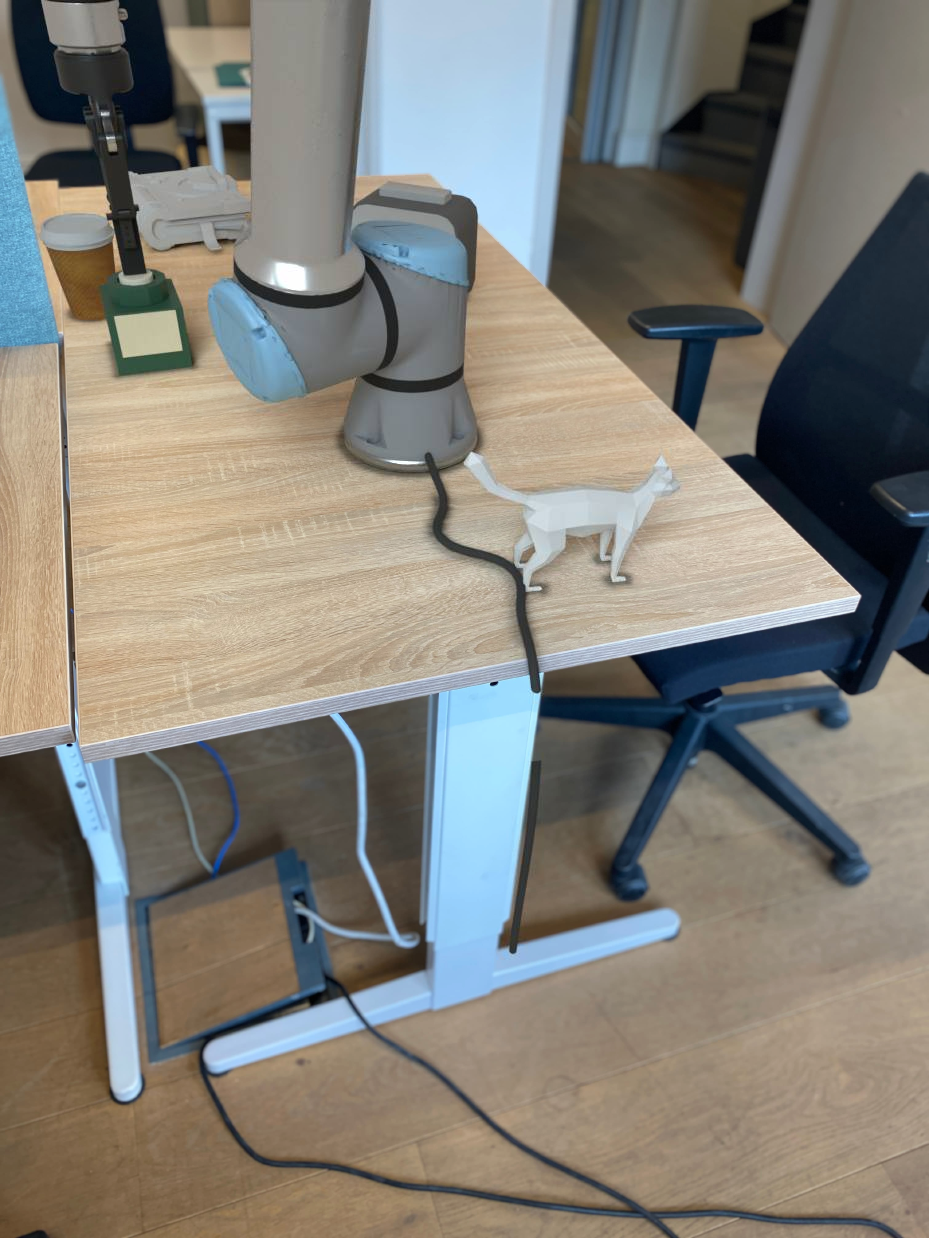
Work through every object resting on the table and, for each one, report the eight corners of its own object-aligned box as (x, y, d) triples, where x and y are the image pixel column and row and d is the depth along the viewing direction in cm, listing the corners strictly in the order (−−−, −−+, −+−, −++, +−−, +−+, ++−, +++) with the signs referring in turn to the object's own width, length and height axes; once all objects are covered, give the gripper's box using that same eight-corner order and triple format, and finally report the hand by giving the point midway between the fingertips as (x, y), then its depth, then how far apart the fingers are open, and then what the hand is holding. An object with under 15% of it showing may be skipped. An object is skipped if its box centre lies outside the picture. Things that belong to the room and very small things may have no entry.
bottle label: (182, 350, 114) (175, 310, 110) (123, 358, 111) (114, 316, 108) (182, 350, 114) (175, 309, 110) (122, 357, 111) (113, 316, 108)
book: (153, 264, 142) (144, 213, 137) (115, 211, 161) (105, 165, 156) (271, 248, 150) (266, 199, 144) (221, 200, 168) (215, 155, 163)
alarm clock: (351, 302, 133) (346, 190, 123) (381, 276, 142) (378, 169, 132) (455, 320, 130) (459, 206, 120) (479, 293, 138) (485, 184, 128)
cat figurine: (669, 579, 86) (700, 448, 76) (463, 600, 82) (469, 466, 73) (652, 551, 89) (680, 423, 80) (453, 570, 85) (458, 438, 76)
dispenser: (192, 367, 115) (179, 289, 109) (119, 376, 113) (101, 297, 106) (181, 335, 122) (168, 261, 116) (111, 343, 120) (94, 267, 113)
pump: (157, 297, 111) (154, 278, 110) (124, 300, 110) (120, 281, 109) (153, 285, 114) (150, 266, 113) (120, 288, 113) (116, 270, 112)
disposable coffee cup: (143, 304, 130) (126, 217, 122) (106, 329, 123) (85, 239, 115) (85, 295, 132) (64, 208, 124) (45, 319, 125) (20, 229, 117)
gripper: (133, 57, 92) (173, 288, 107) (120, 36, 101) (159, 251, 116) (55, 59, 90) (107, 294, 105) (49, 37, 99) (98, 256, 114)
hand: (134, 271), depth 111 cm, fingers closed
